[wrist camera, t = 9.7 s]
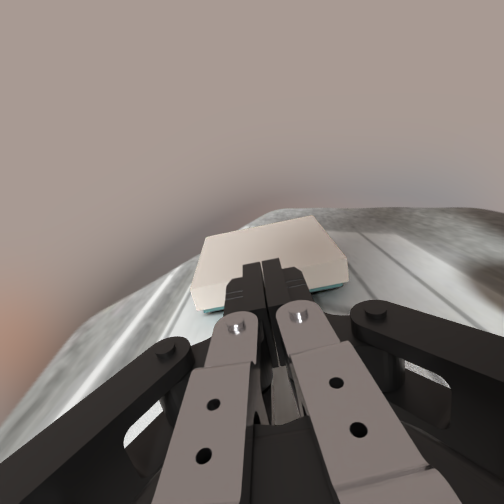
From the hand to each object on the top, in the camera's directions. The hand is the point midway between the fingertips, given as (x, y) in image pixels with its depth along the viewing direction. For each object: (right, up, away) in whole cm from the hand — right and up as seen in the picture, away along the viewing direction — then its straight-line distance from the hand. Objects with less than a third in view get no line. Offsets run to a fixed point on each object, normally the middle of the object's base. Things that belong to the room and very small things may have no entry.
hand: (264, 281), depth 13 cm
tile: (+1, -2, +11) cm, 11 cm away
